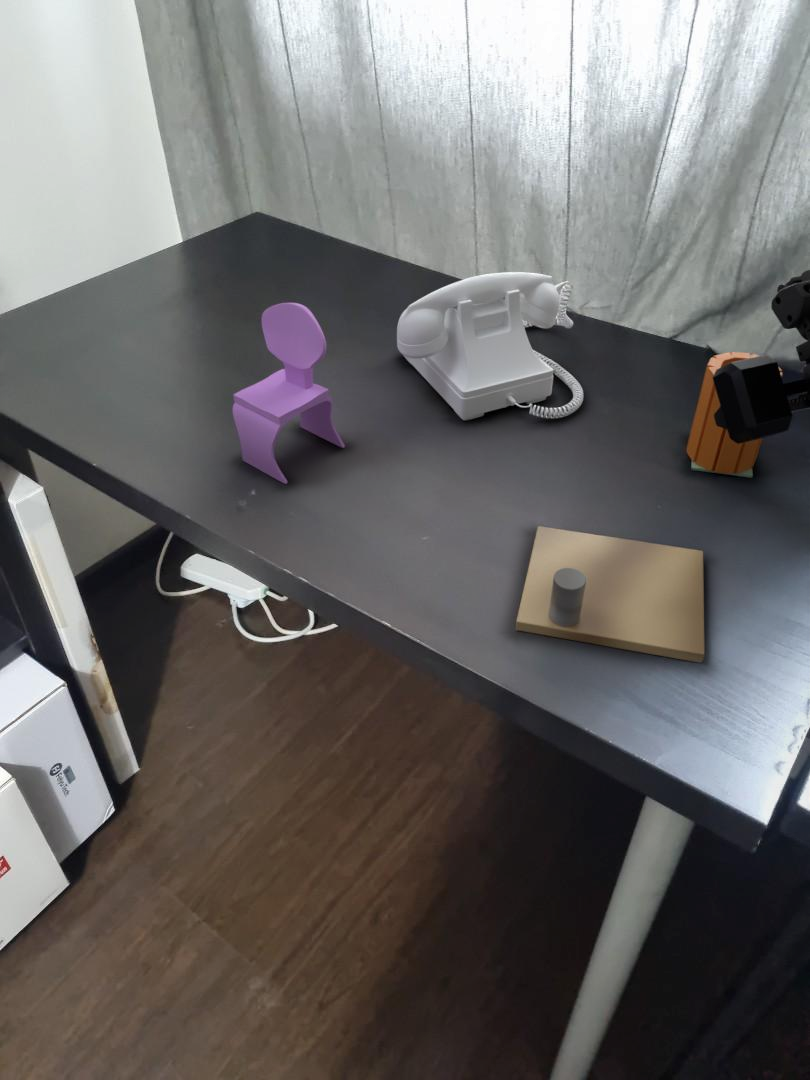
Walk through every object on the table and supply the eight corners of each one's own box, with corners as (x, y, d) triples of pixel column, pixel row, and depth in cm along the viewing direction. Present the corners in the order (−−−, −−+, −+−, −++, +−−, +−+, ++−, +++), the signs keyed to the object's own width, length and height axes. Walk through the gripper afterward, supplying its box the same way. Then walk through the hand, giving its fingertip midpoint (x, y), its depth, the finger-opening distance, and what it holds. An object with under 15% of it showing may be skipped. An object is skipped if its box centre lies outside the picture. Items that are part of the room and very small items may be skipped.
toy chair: (232, 458, 83) (206, 319, 73) (296, 422, 88) (279, 286, 78) (288, 491, 79) (269, 347, 69) (352, 450, 84) (343, 311, 74)
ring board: (700, 559, 70) (714, 513, 67) (701, 663, 62) (717, 616, 58) (536, 534, 73) (541, 489, 70) (515, 630, 64) (520, 583, 61)
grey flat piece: (749, 445, 83) (749, 443, 83) (752, 477, 79) (752, 475, 79) (691, 438, 84) (692, 436, 84) (691, 469, 80) (691, 467, 80)
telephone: (548, 320, 105) (559, 221, 97) (648, 396, 91) (670, 287, 82) (366, 361, 98) (361, 257, 90) (443, 451, 83) (445, 338, 75)
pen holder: (769, 462, 80) (798, 375, 74) (717, 480, 78) (742, 393, 72) (723, 430, 85) (747, 346, 79) (672, 446, 83) (692, 361, 76)
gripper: (965, 229, 63) (818, 309, 78) (760, 266, 58) (646, 343, 73) (1008, 370, 62) (851, 422, 77) (804, 418, 57) (680, 464, 72)
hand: (759, 410), depth 75 cm, fingers open, 9 cm apart
